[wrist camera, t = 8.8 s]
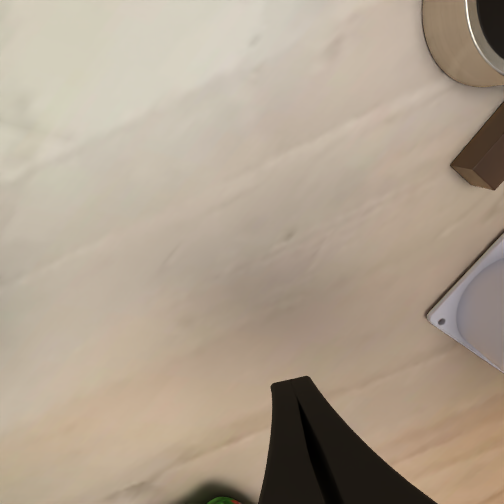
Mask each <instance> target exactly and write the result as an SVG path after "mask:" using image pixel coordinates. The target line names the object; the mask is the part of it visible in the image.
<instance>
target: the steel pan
mask: <svg viewBox="0 0 504 504" xmlns="http://www.w3.org/2000/svg"><path fill="white" fill-rule="evenodd" d="M422 13H423V27H424V34H425V38H426V41H427V45H428V47H429V50H430V52H431V55H432V56H433V58H434V60H435V61H436V63H437V64H438V65H439V67H440V68H441V69H442V70H443V71H444V72H445V73H446V74H447V75H448V76H449V77H451V78H453V79H454V80H456V81H457V82H460V83H462V84H465V85H468V86H473V87H490V86H499V85H504V0H423V8H422Z"/></svg>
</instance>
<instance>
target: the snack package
mask: <svg viewBox="0 0 504 504" xmlns="http://www.w3.org/2000/svg"><path fill="white" fill-rule="evenodd" d="M207 504H241V503H240V502H238V501H236V500H234V499H232V498H229V497H216V498H214V499H212V500H211V501H209V502H208V503H207Z"/></svg>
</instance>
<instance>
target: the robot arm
mask: <svg viewBox="0 0 504 504" xmlns="http://www.w3.org/2000/svg"><path fill="white" fill-rule="evenodd" d="M440 319H441V320H440ZM427 320H428V321H429V322H430V323H431V324H432V325H434V326H435V327H437V328H438V329H440V330H441V331H443V332H444V333H446V334H447V335H449V336H450V337H451V338H453V339H454V340H456V341H457V342H459V343H460V344H462V345H463V346H465V347H466V348H467V349H469V350H470V351H472V352H473V353H475V354H476V355H478V356H479V357H481V358H482V359H483V360H485V361H486V362H488V363H489V364H491V365H492V366H494V367H495V368H497V369H498V370H499V371H501V372H502V373H504V233H503V234H502V235H501V236H500V237H499V238H498V239H497V240H496V242H495V243H494V244H493V245H492V246H491V247H490V248H489V249H488V250H487V251H486V252H485V253H484V254H483V255H482V256H481V257H480V259H479V260H478V261H477V262H476V263H475V264H474V265H473V266H472V267H471V268H470V269H469V270H468V271H467V272H466V273H465V274H464V276H463V277H462V278H461V279H460V280H459V281H458V282H457V283H456V284H455V285H454V286H453V287H452V288H451V289H450V290H449V291H448V293H447V294H446V295H445V296H444V297H443V298H442V299H441V300H440V301H439V302H438V303H437V304H436V305H435V306H434V307H433V308H432V310H431V311H430V312H429V313H428V314H427ZM439 320H440V321H439ZM438 321H439V322H438ZM270 387H271V392H272V425H271V436H270V444H269V451H268V458H267V464H266V470H265V475H264V480H263V485H262V489H261V493H260V498H259V502H258V504H437V503H436V502H435V501H433V500H432V499H431V498H429V497H428V496H427V495H425V494H424V493H423V492H421V491H420V490H419V489H417V488H416V487H415V486H413V485H412V484H411V483H410V482H408V481H407V480H406V479H405V478H404V477H402V476H401V475H400V474H399V473H398V472H396V471H395V470H394V469H393V468H392V467H390V466H389V465H388V464H387V463H386V462H385V461H384V460H383V459H381V458H380V457H379V456H378V455H377V454H376V453H375V452H374V451H373V450H372V449H371V448H370V447H369V446H368V445H367V444H366V443H365V442H364V441H363V440H362V439H361V438H360V437H359V436H358V435H357V434H356V433H355V432H354V431H353V430H352V429H351V428H350V427H349V426H348V425H347V424H346V423H345V421H344V420H343V419H342V418H341V417H340V416H339V415H338V414H337V412H336V411H335V410H334V409H333V408H332V407H331V405H330V404H329V403H328V402H327V400H326V399H325V398H324V397H323V395H322V394H321V393H320V391H319V390H318V389H317V387H316V386H315V384H314V383H313V381H312V380H311V378H310V377H308V376H304V377H299V378H295V379H290V380H285V381H281V382H276V383H273V384H272V385H271V386H270Z"/></svg>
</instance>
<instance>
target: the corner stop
mask: <svg viewBox="0 0 504 504" xmlns="http://www.w3.org/2000/svg"><path fill="white" fill-rule="evenodd" d="M451 167H452V168H454V169H455V170H456V171H457V172H458V173H459V174H460V175H461V176H462V177H463V178H464V179H465V180H467V181H468V182H469V183H470V184H471V185H474V186H478V187H482V188H487V189H491V190H496V188H497V187H498V186H499V185H500V184H501V183H502V182H503V181H504V102H503V103H502V105H501V106H500V107H499V108H498V109H497V111H496V112H495V113H494V114H493V115H492V116H491V118H490V119H489V120H488V121H487V122H486V124H485V125H484V126H483V127H482V128H481V129H480V131H479V132H478V133H477V134H476V135H475V137H474V138H473V139H472V140H471V141H470V142H469V144H468V145H467V146H466V147H465V148H464V150H463V151H462V152H461V153H460V154H459V155H458V157H457V158H456V159H455V160H454V161H453V163H452V164H451Z"/></svg>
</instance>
